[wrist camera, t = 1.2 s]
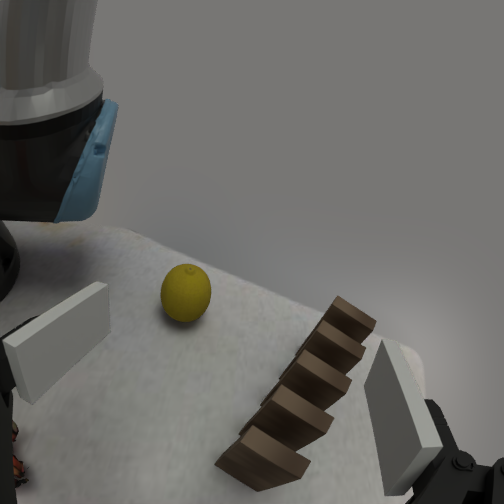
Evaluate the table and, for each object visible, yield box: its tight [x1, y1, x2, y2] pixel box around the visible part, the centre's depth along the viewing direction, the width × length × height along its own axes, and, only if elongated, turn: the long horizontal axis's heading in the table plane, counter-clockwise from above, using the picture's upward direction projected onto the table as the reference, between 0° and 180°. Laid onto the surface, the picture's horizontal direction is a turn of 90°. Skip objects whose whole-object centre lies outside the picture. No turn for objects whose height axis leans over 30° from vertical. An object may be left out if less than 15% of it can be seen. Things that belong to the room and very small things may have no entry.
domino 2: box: [279, 320, 366, 379], centre depth 31 cm, size 5×2×10 cm, turn 57°
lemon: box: [161, 264, 211, 322], centre depth 34 cm, size 6×6×8 cm
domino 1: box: [295, 296, 376, 355], centre depth 34 cm, size 5×2×10 cm, turn 57°
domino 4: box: [239, 384, 334, 452], centre depth 24 cm, size 5×2×10 cm, turn 57°
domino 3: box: [260, 349, 352, 411], centre depth 28 cm, size 5×2×10 cm, turn 57°
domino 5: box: [215, 425, 311, 492], centre depth 21 cm, size 5×2×10 cm, turn 57°
